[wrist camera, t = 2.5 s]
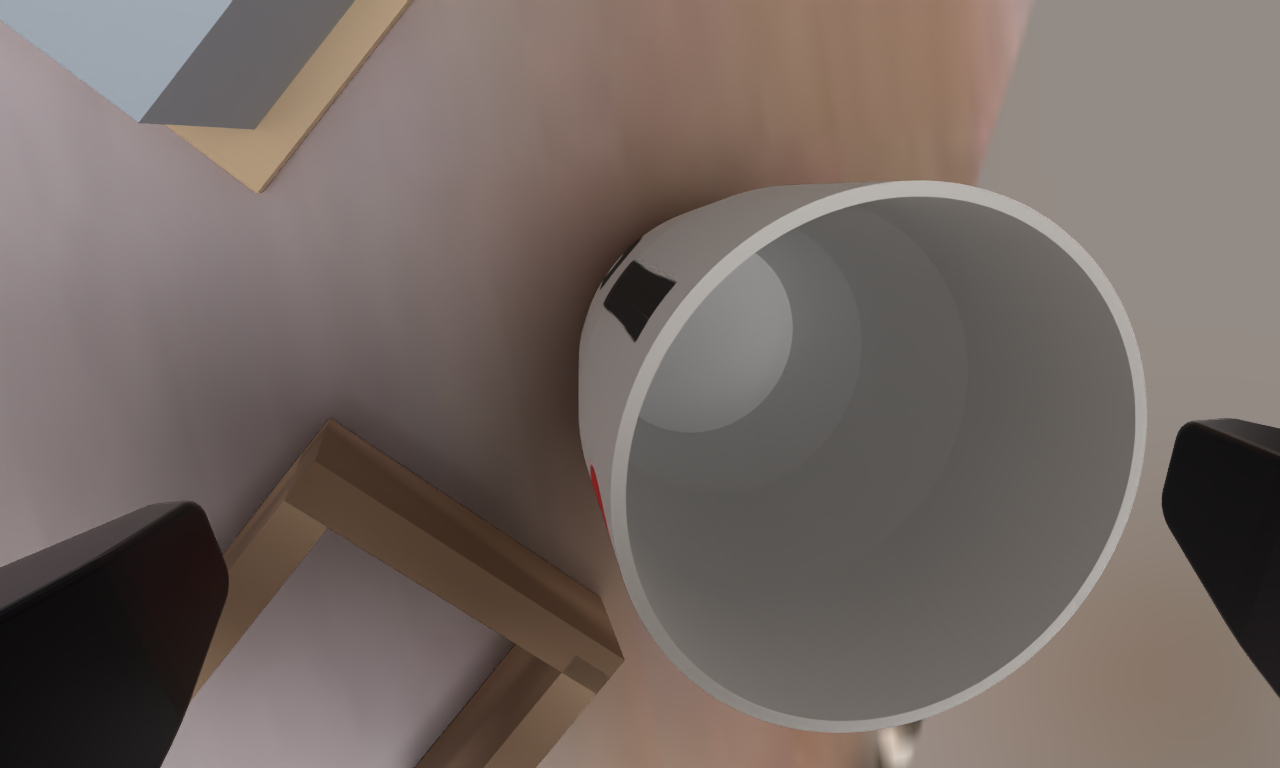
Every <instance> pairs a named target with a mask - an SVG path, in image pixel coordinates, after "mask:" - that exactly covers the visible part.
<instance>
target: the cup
mask: <svg viewBox="0 0 1280 768" xmlns="http://www.w3.org/2000/svg"><path fill="white" fill-rule="evenodd" d="M579 428H580V437H581V444H582V449H583V454H584V458H585V462H586V465H587V468H588V472H589V475H590V478H591V481H592V484H593V487H594V490H595V493H596V496H597V500H598V503H599V506H600V509H601V512H602V515H603V518H604V521H605V524H606V527H607V530H608V534H609V537H610V540H611V543H612V546H613V549H614V552H615V555H616V558H617V561H618V565H619V568H620V571H621V574H622V577H623V580H624V583H625V586H626V588H627V591H628V594H629V596H630V598H631V601H632V603H633V605H634V607H635V609H636V611H637V613H638V615H639V617H640V619H641V621H642V622H643V624H644V626H645V627H646V629H647V631H648V632H649V634H650V635H651V637H652V638H653V640H654V641H655V642H656V644H657V645H658V646H659V648H660V649H661V650H662V652H663V653H664V654H665V655H666V656H667V658H668V659H669V660H670V661H671V662H672V663H673V664H674V665H675V666H676V667H677V668H678V669H679V670H680V671H681V672H682V673H683V674H684V675H685V676H686V677H687V678H689V679H690V680H691V681H692V682H693V683H694V684H696V685H697V686H698V687H700V688H701V689H702V690H704V691H705V692H707V693H708V694H710V695H711V696H712V697H714V698H716V699H717V700H719V701H721V702H722V703H724V704H726V705H728V706H730V707H732V708H733V709H735V710H738V711H740V712H742V713H744V714H746V715H749V716H751V717H754V718H757V719H759V720H762V721H766V722H769V723H772V724H776V725H780V726H784V727H788V728H793V729H799V730H806V731H815V732H831V733H845V732H862V731H871V730H878V729H884V728H890V727H894V726H899V725H903V724H907V723H911V722H914V721H918V720H921V719H924V718H927V717H930V716H933V715H935V714H938V713H940V712H943V711H945V710H948V709H950V708H952V707H954V706H957V705H959V704H961V703H963V702H965V701H967V700H969V699H971V698H973V697H975V696H976V695H978V694H980V693H982V692H983V691H985V690H987V689H988V688H990V687H992V686H993V685H995V684H996V683H998V682H999V681H1001V680H1002V679H1004V678H1005V677H1007V676H1008V675H1009V674H1010V673H1012V672H1013V671H1015V670H1016V669H1017V668H1019V667H1020V666H1021V665H1023V664H1024V663H1025V662H1026V661H1027V660H1029V659H1030V658H1031V657H1032V656H1033V655H1035V654H1036V653H1037V652H1038V651H1039V650H1040V649H1041V648H1042V647H1043V646H1044V645H1045V644H1046V643H1047V642H1048V641H1049V640H1050V639H1051V638H1052V637H1053V636H1054V635H1055V634H1056V633H1057V632H1058V631H1059V630H1060V629H1061V628H1062V627H1063V626H1064V624H1065V623H1066V622H1067V621H1068V620H1069V618H1071V616H1072V615H1073V614H1074V613H1075V611H1076V610H1077V609H1078V608H1079V606H1080V605H1081V604H1082V602H1083V601H1084V600H1085V598H1086V597H1087V595H1088V594H1089V592H1090V591H1091V590H1092V588H1093V587H1094V585H1095V584H1096V581H1097V580H1098V579H1099V577H1100V576H1101V574H1102V572H1103V570H1104V569H1105V567H1106V565H1107V563H1108V562H1109V560H1110V558H1111V556H1112V554H1113V552H1114V550H1115V548H1116V546H1117V544H1118V541H1119V539H1120V537H1121V535H1122V532H1123V530H1124V528H1125V525H1126V522H1127V520H1128V517H1129V514H1130V511H1131V508H1132V505H1133V502H1134V499H1135V495H1136V491H1137V488H1138V484H1139V480H1140V475H1141V470H1142V465H1143V459H1144V451H1145V444H1146V443H1145V442H1146V430H1147V400H1146V387H1145V378H1144V372H1143V366H1142V361H1141V357H1140V352H1139V348H1138V345H1137V341H1136V338H1135V335H1134V332H1133V329H1132V326H1131V324H1130V321H1129V318H1128V316H1127V314H1126V311H1125V309H1124V307H1123V305H1122V303H1121V301H1120V299H1119V297H1118V295H1117V294H1116V292H1115V290H1114V288H1113V286H1112V285H1111V283H1110V282H1109V280H1108V279H1107V277H1106V275H1105V274H1104V273H1103V271H1102V270H1101V269H1100V267H1099V266H1098V265H1097V263H1096V262H1095V261H1094V260H1093V259H1092V257H1091V256H1090V255H1089V254H1088V253H1087V252H1086V251H1085V250H1084V248H1083V247H1082V246H1080V244H1079V243H1078V242H1076V241H1075V240H1074V239H1073V238H1072V237H1071V236H1070V235H1068V234H1067V233H1066V232H1065V231H1064V230H1063V229H1062V228H1060V227H1059V226H1057V225H1056V224H1055V223H1054V222H1052V221H1051V220H1049V219H1048V218H1046V217H1045V216H1043V215H1042V214H1040V213H1038V212H1037V211H1035V210H1033V209H1032V208H1030V207H1028V206H1026V205H1024V204H1022V203H1020V202H1018V201H1015V200H1013V199H1011V198H1008V197H1006V196H1003V195H1000V194H998V193H995V192H992V191H988V190H985V189H981V188H977V187H973V186H969V185H963V184H958V183H951V182H942V181H918V180H915V181H886V182H858V183H829V184H801V185H781V186H772V187H765V188H760V189H755V190H751V191H747V192H743V193H740V194H736V195H733V196H730V197H728V198H725V199H722V200H719V201H717V202H714V203H711V204H708V205H706V206H703V207H700V208H697V209H695V210H692V211H689V212H686V213H684V214H681V215H679V216H676V217H674V218H672V219H670V220H668V221H666V222H664V223H662V224H660V225H659V226H657V227H655V228H654V229H652V230H651V231H649V232H648V233H646V234H645V235H644V236H642V237H641V238H640V239H639V240H637V241H636V242H635V243H634V244H633V245H632V246H631V247H629V248H628V249H627V250H626V251H625V252H624V253H623V254H622V256H621V257H620V258H619V259H618V260H617V261H616V263H615V264H614V265H613V266H612V268H611V269H610V270H609V272H608V273H607V275H606V276H605V278H604V279H603V281H602V282H601V284H600V286H599V288H598V289H597V291H596V293H595V295H594V298H593V300H592V302H591V304H590V307H589V310H588V312H587V315H586V318H585V322H584V326H583V330H582V334H581V340H580V348H579Z"/></svg>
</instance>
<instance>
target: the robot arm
mask: <svg viewBox="0 0 1280 768" xmlns="http://www.w3.org/2000/svg"><path fill="white" fill-rule="evenodd" d="M1162 509H1163V514H1164V517H1165V520H1166V523H1167V525H1168V527H1169V529H1170V530H1171V532H1172V534H1173V536H1174V537H1175V539H1176V540H1177V542H1178V544H1179V545H1180V547H1181V549H1182V551H1183V552H1184V554H1185V556H1186V557H1187V559H1188V561H1189V562H1190V564H1191V566H1192V567H1193V569H1194V571H1195V572H1196V574H1197V576H1198V577H1199V579H1200V581H1201V582H1202V584H1203V586H1204V588H1205V589H1206V591H1207V593H1208V594H1209V596H1210V597H1211V599H1212V601H1213V603H1214V604H1215V606H1216V608H1217V609H1218V611H1219V612H1220V614H1221V616H1222V618H1223V619H1224V621H1225V622H1226V624H1227V626H1228V627H1229V629H1230V631H1231V632H1232V634H1233V635H1234V636H1235V638H1236V640H1237V641H1238V643H1239V644H1240V646H1241V647H1242V649H1243V650H1244V652H1245V653H1246V654H1247V656H1248V657H1249V659H1250V660H1251V661H1252V663H1253V664H1254V666H1255V667H1256V668H1257V670H1258V671H1259V672H1260V673H1261V675H1262V676H1263V677H1264V679H1265V680H1266V681H1267V683H1268V684H1269V685H1270V687H1271V688H1272V689H1273V691H1274V692H1275V693H1276V694H1277V696H1278V697H1279V698H1280V428H1275V427H1271V426H1266V425H1261V424H1257V423H1252V422H1247V421H1243V420H1239V419H1231V418H1220V419H1208V420H1196V421H1190V422H1188V423H1186V424H1185V425H1184V426H1182V427H1181V429H1180V430H1179V432H1178V434H1177V437H1176V440H1175V444H1174V448H1173V452H1172V457H1171V460H1170V464H1169V468H1168V472H1167V476H1166V480H1165V484H1164V488H1163V493H1162ZM228 590H229V574H228V569H227V566H226V563H225V560H224V558H223V555H222V553H221V550H220V548H219V545H218V543H217V540H216V538H215V536H214V533H213V531H212V528H211V526H210V523H209V521H208V518H207V516H206V514H205V512H204V510H203V509H202V508H201V506H200V505H198V504H196V503H195V502H192V501H181V502H168V503H157V504H153V505H148V506H146V507H144V508H141V509H139V510H136V511H134V512H132V513H129V514H127V515H125V516H122V517H120V518H117V519H115V520H113V521H110V522H108V523H105V524H103V525H101V526H98V527H96V528H94V529H91V530H89V531H86V532H84V533H82V534H79V535H77V536H74V537H72V538H70V539H67V540H65V541H62V542H60V543H58V544H55V545H53V546H51V547H48V548H46V549H43V550H41V551H39V552H36V553H34V554H31V555H29V556H27V557H24V558H22V559H20V560H17V561H15V562H12V563H10V564H8V565H5V566H3V567H0V768H160V767H161V765H162V763H163V761H164V759H165V757H166V755H167V753H168V751H169V749H170V747H171V745H172V743H173V740H174V738H175V736H176V734H177V732H178V730H179V727H180V725H181V723H182V720H183V718H184V715H185V713H186V710H187V708H188V705H189V703H190V700H191V698H192V695H193V692H194V689H195V686H196V684H197V681H198V678H199V675H200V672H201V670H202V667H203V664H204V661H205V658H206V656H207V653H208V650H209V647H210V644H211V642H212V639H213V636H214V633H215V631H216V628H217V625H218V622H219V619H220V617H221V614H222V611H223V608H224V605H225V603H226V600H227V596H228Z"/></svg>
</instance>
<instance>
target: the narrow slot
mask: <svg viewBox="0 0 1280 768" xmlns="http://www.w3.org/2000/svg"><path fill="white" fill-rule="evenodd" d="M327 528H329V529H331V530H332V531H334V532H336V533H337V534H339V535H340V536H342V537H344V538H345V539H347V540H349V541H350V542H352V543H353V544H355V545H357V546H358V547H360V548H361V549H363V550H365V551H366V552H368V553H370V554H371V555H373V556H374V557H376V558H378V559H379V560H381V561H382V562H384V563H386V564H387V565H389V566H390V567H392V568H394V569H395V570H397V571H399V572H400V573H402V574H403V575H405V576H407V577H408V578H410V579H411V580H413V581H415V582H416V583H418V584H420V585H421V586H423V587H424V588H426V589H428V590H429V591H431V592H432V593H434V594H436V595H437V596H439V597H441V598H442V599H444V600H445V601H447V602H449V603H450V604H452V605H453V606H455V607H457V608H458V609H460V610H461V611H463V612H465V613H466V614H468V615H470V616H471V617H473V618H474V619H476V620H478V621H479V622H481V623H482V624H484V625H486V626H487V627H489V628H491V629H492V630H494V631H495V632H497V633H499V634H500V635H502V636H503V637H505V638H507V639H508V640H510V641H512V642H513V643H515V646H514V647H513V648H512V649H511V650H510V652H509V653H508V654H507V655H506V657H505V658H504V659H503V660H502V661H501V663H500V664H499V665H498V666H497V668H496V669H495V670H494V671H493V672H492V674H491V675H490V676H489V677H488V679H487V680H486V681H485V682H484V684H483V685H482V686H481V687H480V688H479V690H478V691H477V692H476V693H475V695H474V696H473V697H472V698H471V699H470V701H469V702H468V703H467V704H466V706H465V707H464V708H463V709H462V711H461V712H460V713H459V714H458V715H457V717H456V718H455V719H454V720H453V722H452V723H451V724H450V725H449V726H448V728H447V729H446V730H445V731H444V733H443V734H442V735H441V736H440V738H439V739H438V740H437V741H436V742H435V744H434V745H433V746H432V747H431V749H430V750H429V751H428V752H427V753H426V755H425V756H424V757H423V758H422V760H421V761H420V762H419V763H418V765H417V766H416V767H415V768H536V767H537V766H538V764H539V763H540V762H541V761H542V760H543V758H544V757H545V756H546V755H547V753H548V752H549V751H550V750H551V749H552V747H553V746H554V745H555V744H556V743H557V741H558V740H559V739H560V738H561V736H562V735H563V734H564V733H565V732H566V730H567V729H568V728H569V727H570V726H571V724H572V723H573V722H574V721H575V720H576V718H577V717H578V716H579V715H580V713H581V712H582V711H583V710H584V709H585V707H586V706H587V705H588V704H589V703H590V701H591V700H592V699H593V698H594V696H595V695H596V694H597V693H598V692H599V690H600V689H601V688H602V687H603V686H604V684H605V683H606V682H607V681H608V680H609V678H610V677H611V676H612V675H613V673H614V672H615V671H616V670H617V669H618V667H619V666H620V665H621V664H622V663H623V661H624V657H623V655H622V652H621V650H620V647H619V644H618V642H617V639H616V637H615V634H614V631H613V629H612V626H611V623H610V621H609V618H608V616H607V613H606V610H605V608H604V605H603V603H602V600H601V598H600V597H599V596H597V595H596V594H594V593H593V592H591V591H590V590H588V589H587V588H585V587H584V586H582V585H581V584H579V583H578V582H576V581H575V580H573V579H572V578H570V577H569V576H567V575H566V574H564V573H563V572H561V571H560V570H558V569H557V568H555V567H554V566H552V565H551V564H549V563H548V562H546V561H545V560H543V559H542V558H540V557H539V556H537V555H536V554H534V553H533V552H531V551H530V550H528V549H527V548H525V547H524V546H522V545H521V544H519V543H518V542H516V541H515V540H513V539H512V538H510V537H509V536H507V535H505V534H504V533H502V532H501V531H499V530H498V529H496V528H495V527H493V526H492V525H490V524H489V523H487V522H486V521H484V520H483V519H481V518H480V517H478V516H477V515H475V514H474V513H472V512H471V511H469V510H468V509H466V508H465V507H463V506H462V505H460V504H459V503H457V502H456V501H454V500H453V499H451V498H450V497H448V496H447V495H445V494H444V493H442V492H441V491H439V490H438V489H436V488H435V487H433V486H432V485H430V484H429V483H427V482H426V481H424V480H423V479H421V478H420V477H418V476H417V475H415V474H414V473H412V472H411V471H409V470H408V469H406V468H405V467H403V466H402V465H400V464H399V463H397V462H396V461H394V460H393V459H391V458H390V457H388V456H387V455H385V454H384V453H382V452H381V451H379V450H378V449H376V448H375V447H373V446H372V445H370V444H369V443H367V442H366V441H364V440H363V439H361V438H360V437H358V436H357V435H355V434H354V433H352V432H350V431H349V430H347V429H346V428H344V427H343V426H341V425H340V424H338V423H337V422H335V421H334V420H332V419H331V418H329V419H328V421H327V422H326V423H325V424H324V426H323V427H322V428H321V430H320V431H319V432H318V433H317V435H316V436H315V437H314V438H313V440H312V441H311V442H310V444H309V445H308V446H307V447H306V449H305V450H304V451H303V452H302V454H301V455H300V456H299V458H298V459H297V460H296V461H295V463H294V464H293V465H292V466H291V468H290V469H289V470H288V472H287V473H286V474H285V475H284V477H283V478H282V479H281V480H280V482H279V483H278V484H277V486H276V487H275V488H274V489H273V491H272V492H271V493H270V494H269V496H268V497H267V498H266V500H265V501H264V502H263V503H262V505H261V506H260V507H259V508H258V510H257V511H256V512H255V514H254V515H253V516H252V517H251V519H250V520H249V521H248V522H247V524H246V525H245V526H244V528H243V529H242V530H241V531H240V533H239V534H238V535H237V537H236V538H235V539H234V540H233V542H232V543H231V544H230V545H229V547H228V548H227V549H226V551H225V552H224V553H223V554H222V555H223V558H224V560H225V563H226V566H227V569H228V574H229V590H228V596H227V600H226V603H225V605H224V608H223V611H222V614H221V617H220V619H219V622H218V625H217V628H216V631H215V633H214V636H213V639H212V642H211V644H210V647H209V650H208V653H207V656H206V658H205V661H204V664H203V667H202V670H201V672H200V675H199V678H198V681H197V684H196V686H195V689H194V692H193V695H192V698H191V700H192V699H193V697H194V696H195V695H196V693H197V692H198V691H199V690H200V688H201V687H202V686H203V685H204V683H205V682H206V681H207V680H208V678H209V677H210V676H211V675H212V673H213V672H214V671H215V669H216V668H217V667H218V666H219V664H220V663H221V662H222V661H223V659H224V658H225V657H226V656H227V654H228V653H229V652H230V651H231V649H232V648H233V647H234V646H235V644H236V643H237V642H238V640H239V639H240V638H241V637H242V635H243V634H244V633H245V632H246V630H247V629H248V628H249V627H250V625H251V624H252V623H253V622H254V620H255V619H256V618H257V616H258V615H259V614H260V613H261V611H262V610H263V609H264V608H265V606H266V605H267V604H268V603H269V601H270V600H271V599H272V598H273V596H274V595H275V594H276V592H277V591H278V590H279V589H280V587H281V586H282V585H283V584H284V582H285V581H286V580H287V579H288V577H289V576H290V575H291V574H292V572H293V571H294V570H295V568H296V567H297V566H298V565H299V563H300V562H301V561H302V560H303V558H304V557H305V556H306V555H307V553H308V552H309V551H310V550H311V548H312V547H313V546H314V544H315V543H316V542H317V541H318V539H319V538H320V537H321V536H322V534H323V533H324V532H325V531H326V529H327ZM191 700H190V701H191Z"/></svg>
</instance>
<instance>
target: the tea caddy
mask: <svg viewBox="0 0 1280 768" xmlns="http://www.w3.org/2000/svg"><path fill="white" fill-rule="evenodd" d="M412 1H413V0H0V21H2V22H3V23H4V24H6V25H7V26H9V27H10V28H11V29H13V30H14V31H15V32H17V33H18V34H19V35H21V36H22V37H23V38H25V39H26V40H27V41H29V42H30V43H31V44H33V45H34V46H35V47H37V48H38V49H40V50H41V51H42V52H44V53H45V54H46V55H48V56H49V57H50V58H52V59H53V60H54V61H56V62H57V63H58V64H60V65H61V66H62V67H64V68H65V69H67V70H68V71H69V72H71V73H72V74H73V75H75V76H76V77H77V78H79V79H80V80H81V81H83V82H84V83H85V84H87V85H88V86H89V87H91V88H92V89H94V90H95V91H96V92H98V93H99V94H100V95H102V96H103V97H104V98H106V99H107V100H108V101H110V102H111V103H112V104H114V105H115V106H116V107H118V108H119V109H120V110H122V111H123V112H125V113H126V114H127V115H129V116H130V117H131V118H133V119H134V120H135V121H137V122H138V123H150V124H164V125H166V126H167V127H168V128H170V129H171V130H172V131H174V132H175V133H176V134H178V135H179V136H180V137H182V138H183V139H184V140H186V141H187V142H188V143H190V144H191V145H192V146H194V147H195V148H196V149H198V150H199V151H200V152H202V153H203V154H204V155H206V156H207V157H208V158H210V159H211V160H212V161H214V162H215V163H216V164H218V165H219V166H220V167H222V168H223V169H224V170H226V171H227V172H228V173H230V174H231V175H232V176H234V177H235V178H236V179H238V180H239V181H240V182H242V183H243V184H244V185H246V186H247V187H248V188H250V189H251V190H252V191H254V192H255V193H256V194H257V193H260V192H263V191H264V190H265V189H266V188H267V186H268V185H269V184H270V182H271V181H272V180H273V179H274V177H275V176H276V175H277V173H278V172H279V171H280V170H281V168H282V167H283V166H284V165H285V163H286V162H287V161H288V159H289V158H290V157H291V156H292V154H293V153H294V152H295V151H296V149H297V148H298V147H299V145H300V144H301V143H302V142H303V140H304V139H305V138H306V136H307V135H308V134H309V133H310V131H311V130H312V129H313V128H314V126H315V125H316V124H317V122H318V121H319V120H320V119H321V117H322V116H323V115H324V114H325V112H326V111H327V110H328V108H329V107H330V106H331V105H332V103H333V102H334V101H335V99H336V98H337V97H338V96H339V94H340V93H341V92H342V91H343V89H344V88H345V87H346V85H347V84H348V83H349V82H350V80H351V79H352V78H353V77H354V75H355V74H356V73H357V71H358V70H359V69H360V68H361V66H362V65H363V64H364V62H365V61H366V60H367V59H368V57H369V56H370V55H371V54H372V52H373V51H374V50H375V48H376V47H377V46H378V45H379V43H380V42H381V41H382V39H383V38H384V37H385V36H386V34H387V33H388V32H389V31H390V29H391V28H392V27H393V25H394V24H395V23H396V22H397V20H398V19H399V18H400V17H401V15H402V14H403V13H404V11H405V10H406V9H407V8H408V6H409V5H410V4H411V2H412Z"/></svg>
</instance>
